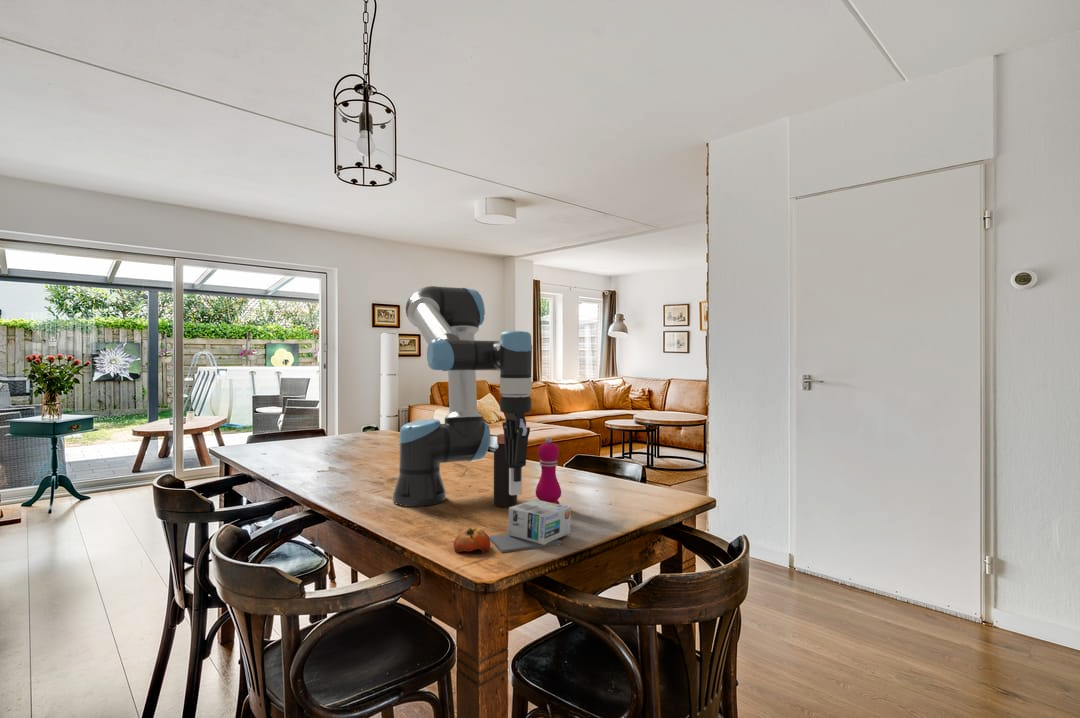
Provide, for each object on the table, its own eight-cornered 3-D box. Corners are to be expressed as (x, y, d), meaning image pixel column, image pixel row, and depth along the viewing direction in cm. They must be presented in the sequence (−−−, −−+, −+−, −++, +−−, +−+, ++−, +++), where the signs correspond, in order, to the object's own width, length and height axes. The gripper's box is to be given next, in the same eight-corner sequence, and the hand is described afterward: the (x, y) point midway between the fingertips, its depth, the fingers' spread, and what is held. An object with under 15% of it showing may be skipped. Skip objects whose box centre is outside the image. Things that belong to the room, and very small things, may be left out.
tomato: (443, 541, 117) (465, 514, 119) (463, 556, 121) (483, 529, 123) (459, 558, 111) (482, 529, 113) (479, 573, 114) (501, 545, 117)
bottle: (495, 501, 157) (495, 433, 157) (518, 501, 156) (518, 433, 156) (492, 507, 150) (492, 436, 150) (516, 508, 150) (516, 436, 150)
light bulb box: (507, 535, 124) (544, 546, 117) (507, 506, 124) (544, 516, 117) (535, 525, 132) (571, 534, 126) (535, 497, 132) (572, 506, 126)
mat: (488, 538, 124) (488, 536, 124) (543, 531, 129) (543, 529, 129) (501, 552, 115) (501, 550, 115) (560, 544, 120) (560, 542, 120)
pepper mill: (563, 511, 146) (563, 438, 147) (537, 512, 145) (538, 439, 145) (558, 504, 154) (558, 435, 154) (533, 505, 152) (533, 435, 152)
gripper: (540, 397, 123) (540, 499, 123) (521, 393, 135) (520, 486, 135) (509, 397, 120) (509, 502, 120) (492, 394, 132) (492, 489, 132)
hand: (515, 494), depth 128 cm, fingers closed
